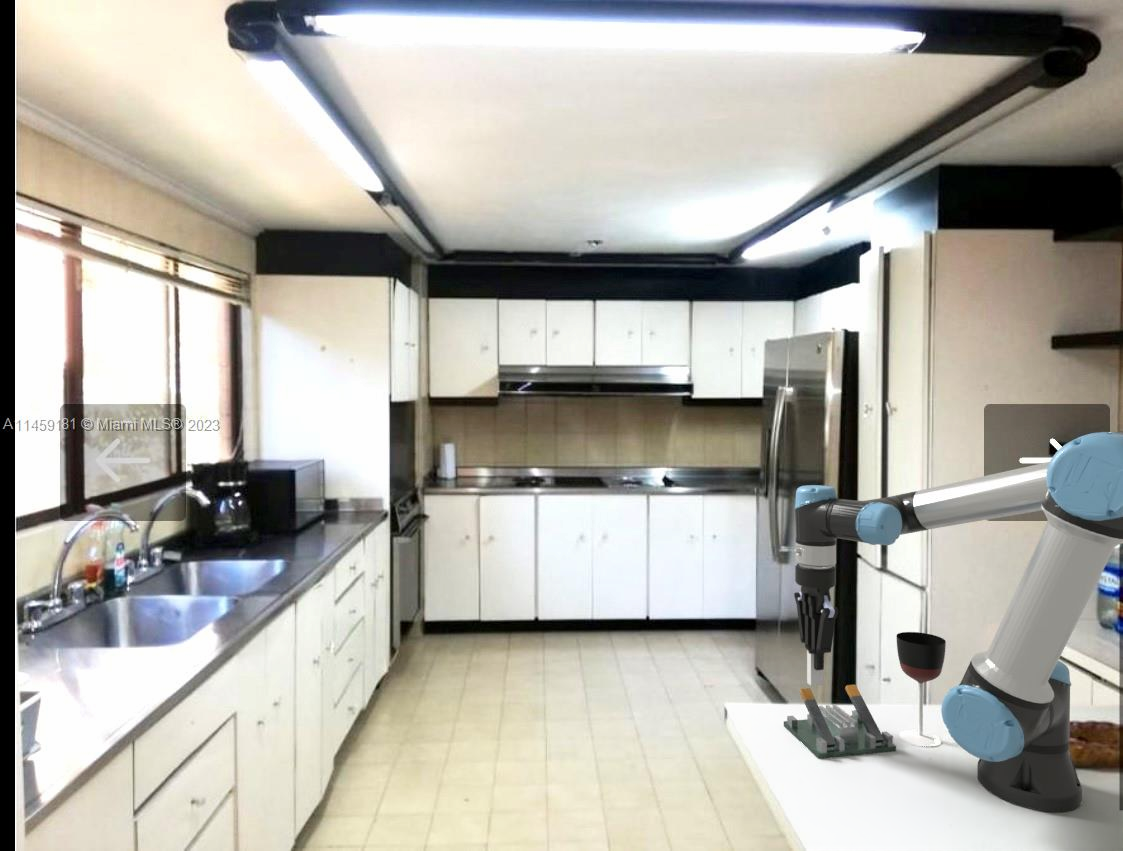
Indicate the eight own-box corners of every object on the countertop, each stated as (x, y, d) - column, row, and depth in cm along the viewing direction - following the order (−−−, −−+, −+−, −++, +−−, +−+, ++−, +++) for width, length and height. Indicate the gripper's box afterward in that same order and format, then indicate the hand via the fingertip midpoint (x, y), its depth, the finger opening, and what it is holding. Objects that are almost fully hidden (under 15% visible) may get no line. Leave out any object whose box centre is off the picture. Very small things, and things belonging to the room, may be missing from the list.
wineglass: (943, 752, 137) (944, 648, 136) (893, 741, 142) (894, 640, 141) (946, 735, 144) (947, 636, 143) (898, 725, 148) (899, 629, 148)
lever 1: (834, 746, 137) (836, 744, 136) (824, 747, 136) (826, 744, 136) (808, 691, 146) (810, 688, 146) (799, 691, 146) (800, 688, 145)
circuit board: (896, 751, 137) (896, 725, 137) (818, 758, 135) (818, 732, 135) (854, 719, 151) (855, 696, 151) (783, 726, 149) (783, 702, 149)
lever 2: (882, 742, 138) (884, 739, 138) (873, 743, 138) (874, 740, 137) (853, 687, 148) (855, 684, 147) (844, 688, 147) (846, 685, 147)
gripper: (782, 558, 147) (782, 673, 147) (814, 573, 134) (814, 698, 134) (816, 557, 148) (816, 670, 148) (851, 571, 135) (851, 695, 136)
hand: (815, 683), depth 141 cm, fingers closed
